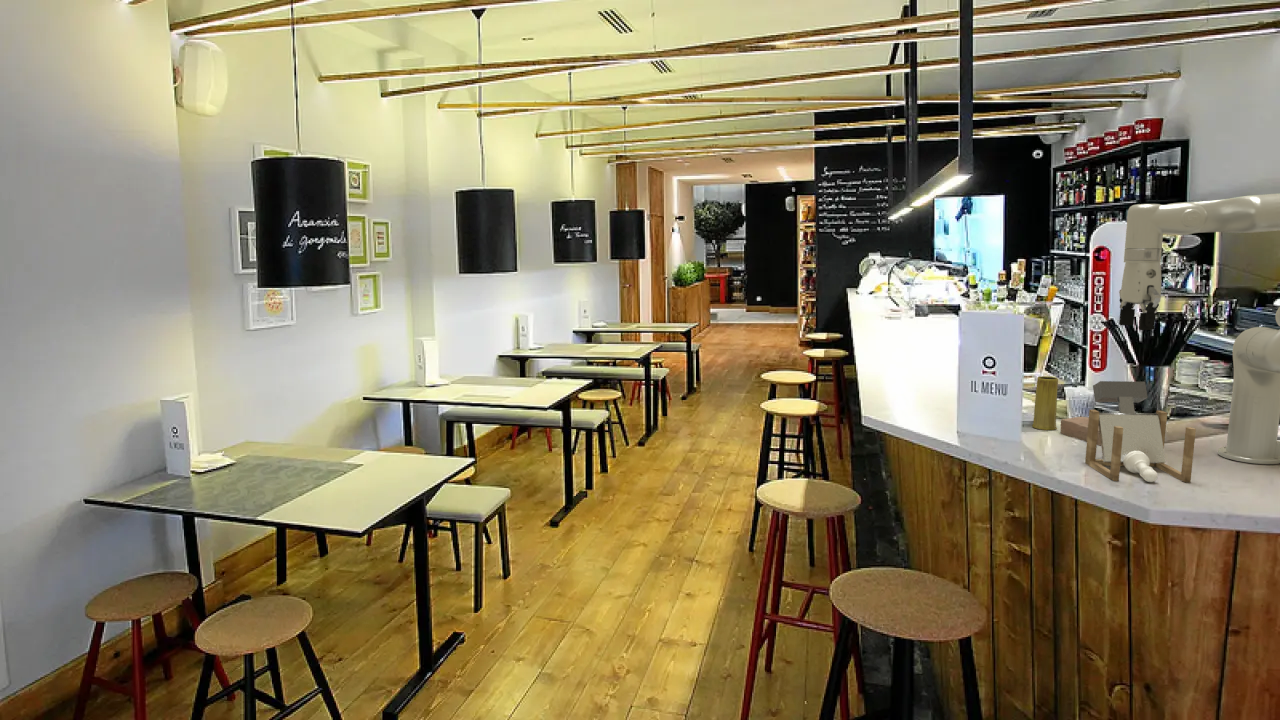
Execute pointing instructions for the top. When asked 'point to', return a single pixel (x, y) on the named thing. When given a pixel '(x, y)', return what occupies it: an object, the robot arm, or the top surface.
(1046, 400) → the vase
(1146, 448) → the trapdoor
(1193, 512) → the top surface
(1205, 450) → the top surface
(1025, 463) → the top surface
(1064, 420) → the brick
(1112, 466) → the frame
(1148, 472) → the chess pawn
